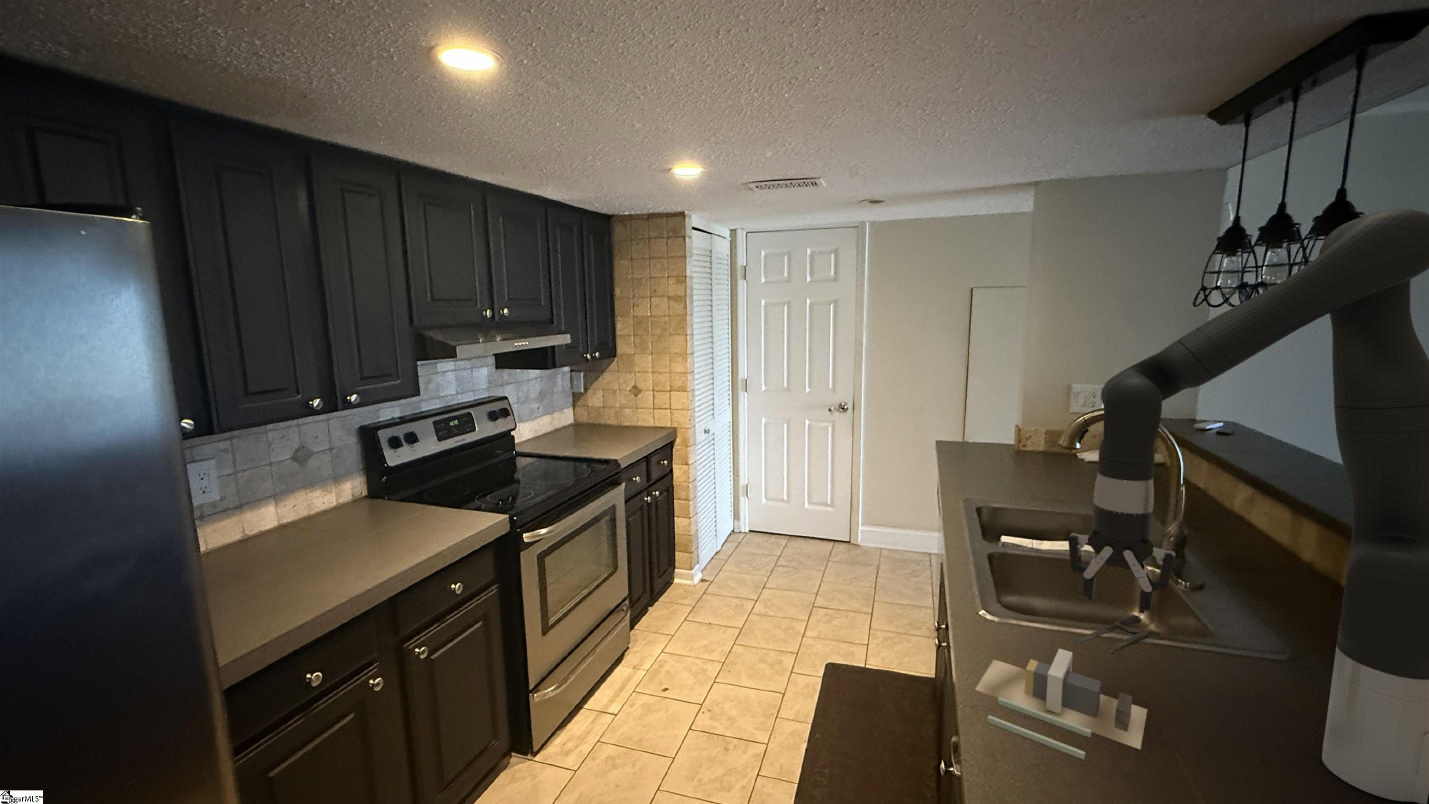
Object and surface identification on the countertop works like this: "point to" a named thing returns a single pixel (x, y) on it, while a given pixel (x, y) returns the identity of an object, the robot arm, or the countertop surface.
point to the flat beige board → (1111, 720)
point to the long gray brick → (1065, 688)
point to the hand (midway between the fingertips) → (1115, 604)
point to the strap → (1057, 680)
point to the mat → (1036, 736)
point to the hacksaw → (1122, 625)
